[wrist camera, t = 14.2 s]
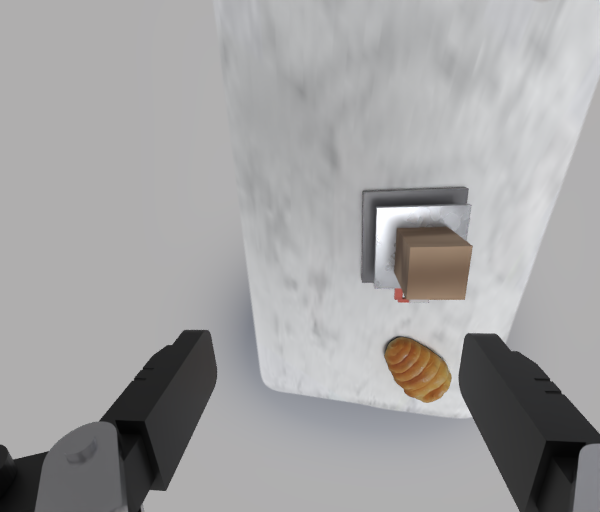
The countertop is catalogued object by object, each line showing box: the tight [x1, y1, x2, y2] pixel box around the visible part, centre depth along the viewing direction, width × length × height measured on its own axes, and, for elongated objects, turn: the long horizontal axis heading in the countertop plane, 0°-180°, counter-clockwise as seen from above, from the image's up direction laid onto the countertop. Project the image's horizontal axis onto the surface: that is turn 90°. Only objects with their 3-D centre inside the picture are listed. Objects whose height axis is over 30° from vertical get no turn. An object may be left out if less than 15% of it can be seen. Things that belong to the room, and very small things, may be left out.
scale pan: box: [374, 204, 471, 302], centre depth 34 cm, size 11×9×2 cm
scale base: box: [362, 187, 469, 303], centre depth 34 cm, size 11×11×6 cm
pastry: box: [384, 337, 452, 403], centre depth 42 cm, size 9×7×4 cm
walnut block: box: [394, 227, 473, 300], centre depth 30 cm, size 5×5×6 cm
